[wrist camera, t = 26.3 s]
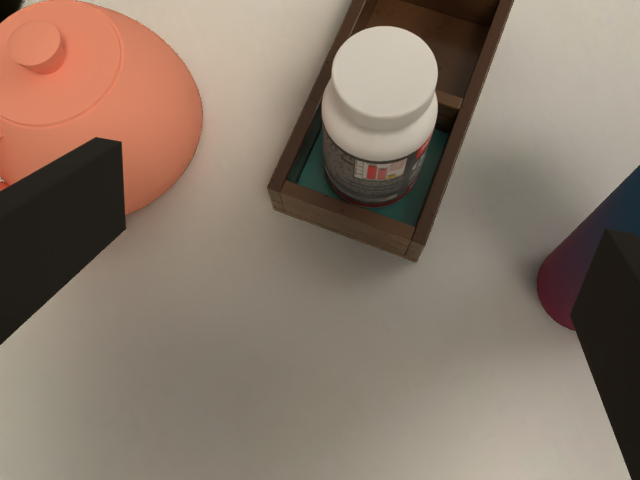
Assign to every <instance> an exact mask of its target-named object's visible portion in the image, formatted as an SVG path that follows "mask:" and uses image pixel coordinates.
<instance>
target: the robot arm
mask: <svg viewBox="0 0 640 480" xmlns="http://www.w3.org/2000/svg"><path fill="white" fill-rule="evenodd" d="M125 229H126V222H125V200H124V179H123V157H122V142H121V141H116V140H110V139H105V138H99V137H95V138H93V139H91V140H90V141H88V142H86V143H84V144H83V145H81V146H79V147H77V148H75V149H74V150H72V151H70V152H68V153H67V154H65V155H63V156H61V157H60V158H58V159H56V160H54V161H53V162H51V163H49V164H47V165H46V166H44V167H42V168H40V169H38V170H37V171H35V172H33V173H31V174H30V175H28V176H26V177H24V178H23V179H21V180H19V181H17V182H16V183H14V184H12V185H10V186H9V187H7V188H5V189H3V190H1V191H0V345H1V344H2V343H3V342H4V341H5V340H6V339H7V338H8V337H9V336H11V335H12V334H13V333H14V332H15V331H16V330H17V329H18V328H19V327H20V326H21V325H22V324H24V323H25V322H26V321H27V320H28V319H29V318H30V317H31V316H32V315H33V314H34V313H35V312H36V311H38V310H39V309H40V308H41V307H42V306H43V305H44V304H45V303H46V302H47V301H48V300H49V299H51V298H52V297H53V296H54V295H55V294H56V293H57V292H58V291H59V290H60V289H61V288H62V287H64V286H65V285H66V284H67V283H68V282H69V281H70V280H71V279H72V278H73V277H74V276H75V275H76V274H78V273H79V272H80V271H81V270H82V269H83V268H84V267H85V266H86V265H87V264H88V263H89V262H91V261H92V260H93V259H94V258H95V257H96V256H97V255H98V254H99V253H100V252H101V251H102V250H104V249H105V248H106V247H107V246H108V245H109V244H110V243H111V242H112V241H113V240H114V239H115V238H116V237H118V236H119V235H120V234H121V233H122V232H123V231H124V230H125ZM570 317H571V320H572V323H573V325H574V328H575V331H576V333H577V336H578V339H579V341H580V344H581V347H582V349H583V352H584V354H585V357H586V360H587V362H588V365H589V368H590V370H591V373H592V376H593V378H594V381H595V384H596V386H597V389H598V392H599V394H600V397H601V400H602V402H603V405H604V408H605V410H606V413H607V416H608V418H609V421H610V423H611V426H612V429H613V431H614V434H615V437H616V439H617V442H618V445H619V447H620V450H621V453H622V455H623V458H624V461H625V463H626V466H627V469H628V471H629V474H630V477H631V479H632V480H640V239H639V238H638V236H637V235H636V234H634V233H629V232H623V231H617V230H612V229H606V228H605V229H604V232H603V234H602V237H601V239H600V242H599V244H598V247H597V249H596V252H595V254H594V256H593V259H592V261H591V264H590V266H589V269H588V271H587V274H586V276H585V279H584V281H583V284H582V286H581V289H580V291H579V294H578V296H577V298H576V301H575V303H574V306H573V308H572V311H571V313H570Z"/></svg>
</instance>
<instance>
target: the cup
mask: <svg viewBox="0 0 640 480" xmlns="http://www.w3.org/2000/svg"><path fill="white" fill-rule="evenodd" d="M605 228H606V229H612V230H617V231H623V232H629V233H634V234H636V235H637V236H638V238H639V239H640V165H639V166H638V167H637V168H636V169H635V170H634V171H633V172H632V173H631V174H630V175H629V176H628V177H627V178H626V179H625V180H624V181H623V182H622V183H621V184H620V185H619V186H618V187H617V188H616V189H615V190H614V191H613V192H612V193H611V194H610V195H609V196H608V197H607V198H606V199H605V200H604V201H603V202H602V203H601V204H600V205H599V206H598V207H597V208H596V209H595V210H594V211H593V212H592V213H591V214H590V215H589V216H588V217H587V218H586V219H585V220H584V221H583V222H582V223H581V224H580V225H579V226H578V227H577V228H576V229H575V230H574V231H573V232H572V233H571V234H570V235H569V236H568V237H567V238H566V239H565V240H564V241H563V242H562V243H561V244H560V245H559V246H558V247H557V248H556V249H555V250H554V251H553V252H552V253H551V254H550V255H549V256H548V257H547V258H546V260H545V261H544V262H543V264H542V265H541V267H540V270H539V272H538V277H537V291H538V296H539V299H540V301H541V303H542V306H543V307H544V309H545V310H546V312H547V313H548V314H549V315H550V316H551V317H552V318H553V319H554V320H555V321H556V322H558V323H559V324H561V325H562V326H564V327H566V328H568V329H571V330H574V331H575V328H574V325H573V323H572V320H571V317H570V313H571V311H572V308H573V306H574V303H575V301H576V298H577V296H578V294H579V291H580V289H581V286H582V284H583V281H584V279H585V276H586V274H587V271H588V269H589V266H590V264H591V261H592V259H593V256H594V254H595V252H596V249H597V247H598V244H599V242H600V239H601V237H602V234H603V232H604V229H605Z"/></svg>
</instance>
